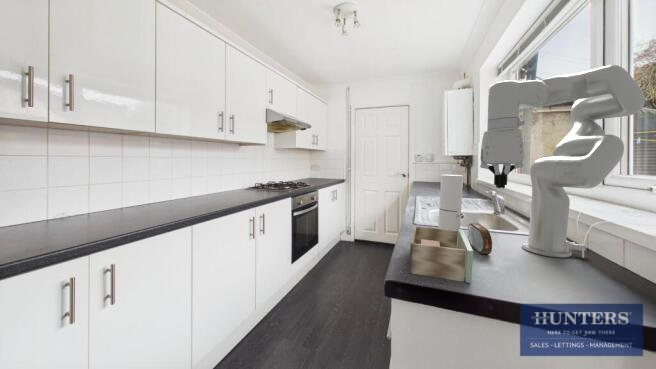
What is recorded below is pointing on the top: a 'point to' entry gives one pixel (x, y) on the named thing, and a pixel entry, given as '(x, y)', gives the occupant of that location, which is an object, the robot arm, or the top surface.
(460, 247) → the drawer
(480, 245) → the tin
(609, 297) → the top surface
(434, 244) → the block
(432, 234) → the caddy
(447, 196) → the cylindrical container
